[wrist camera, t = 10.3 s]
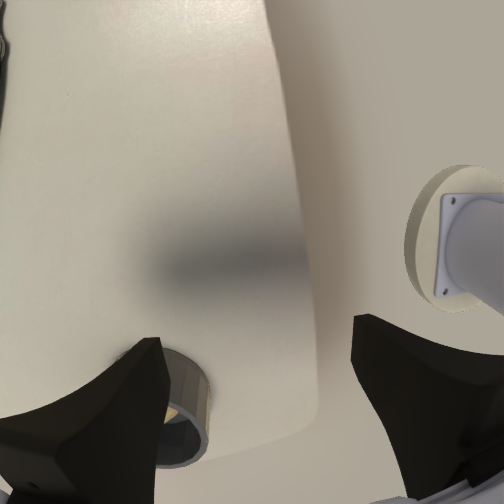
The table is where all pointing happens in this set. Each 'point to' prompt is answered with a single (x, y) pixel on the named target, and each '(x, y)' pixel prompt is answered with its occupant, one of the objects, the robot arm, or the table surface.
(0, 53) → the knife
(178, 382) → the holder
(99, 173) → the table surface
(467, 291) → the robot arm
